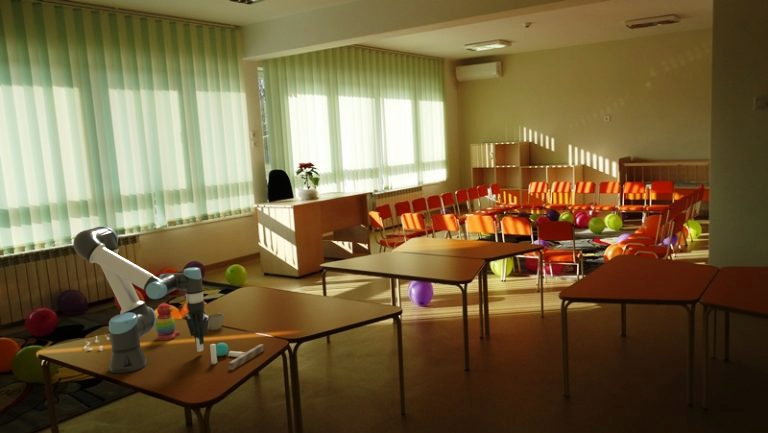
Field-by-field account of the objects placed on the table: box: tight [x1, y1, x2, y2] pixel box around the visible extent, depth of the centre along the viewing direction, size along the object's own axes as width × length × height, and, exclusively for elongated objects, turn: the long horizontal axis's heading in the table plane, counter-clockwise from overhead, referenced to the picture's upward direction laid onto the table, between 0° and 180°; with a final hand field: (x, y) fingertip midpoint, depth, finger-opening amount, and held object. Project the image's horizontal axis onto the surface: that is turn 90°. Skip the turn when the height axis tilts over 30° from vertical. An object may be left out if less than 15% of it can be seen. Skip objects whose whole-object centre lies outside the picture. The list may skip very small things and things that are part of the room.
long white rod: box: [227, 343, 265, 371], centre depth 260 cm, size 24×2×3 cm, turn 158°
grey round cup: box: [206, 312, 225, 331], centre depth 310 cm, size 10×10×7 cm
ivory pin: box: [228, 350, 247, 358], centre depth 265 cm, size 2×2×8 cm
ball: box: [215, 342, 229, 357], centre depth 268 cm, size 6×6×6 cm
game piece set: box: [82, 334, 110, 352], centre depth 295 cm, size 19×20×4 cm
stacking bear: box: [155, 302, 181, 341], centre depth 300 cm, size 11×10×18 cm
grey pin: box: [209, 343, 218, 365], centre depth 258 cm, size 2×2×8 cm
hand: (200, 350), depth 271 cm, fingers closed
